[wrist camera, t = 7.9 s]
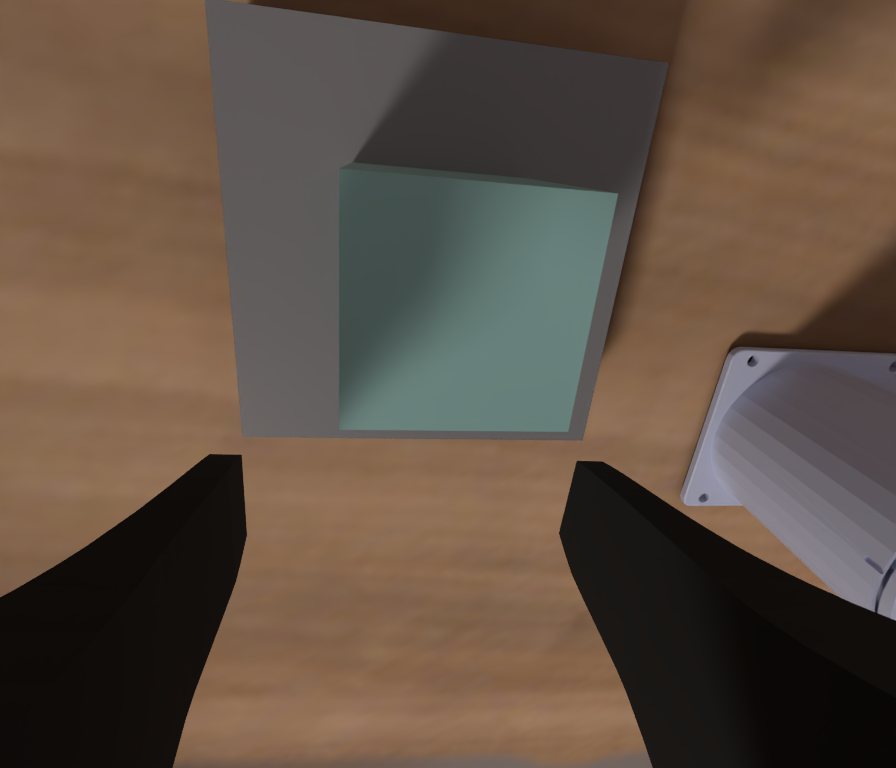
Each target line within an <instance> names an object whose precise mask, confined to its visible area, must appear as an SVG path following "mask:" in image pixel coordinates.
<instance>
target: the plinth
mask: <svg viewBox="0 0 896 768" xmlns="http://www.w3.org/2000/svg"><path fill="white" fill-rule="evenodd" d="M205 6H206V17H207V29H208V41H209V52H210V64H211V76H212V87H213V99H214V111H215V122H216V134H217V146H218V157H219V169H220V181H221V192H222V204H223V216H224V228H225V239H226V251H227V263H228V274H229V286H230V298H231V309H232V321H233V333H234V344H235V356H236V368H237V379H238V391H239V403H240V414H241V426H242V437H300V438H396V439H492V440H583V436H584V432H585V427H586V423H587V419H588V414H589V410H590V406H591V401H592V397H593V392H594V388H595V384H596V379H597V375H598V371H599V366H600V362H601V357H602V353H603V349H604V344H605V340H606V336H607V331H608V327H609V323H610V318H611V314H612V309H613V305H614V301H615V296H616V292H617V288H618V283H619V279H620V275H621V270H622V266H623V261H624V257H625V253H626V248H627V244H628V240H629V235H630V231H631V227H632V222H633V218H634V213H635V209H636V205H637V200H638V196H639V192H640V187H641V183H642V179H643V174H644V170H645V165H646V161H647V157H648V152H649V148H650V144H651V139H652V135H653V131H654V126H655V122H656V117H657V113H658V109H659V104H660V100H661V96H662V91H663V87H664V83H665V78H666V74H667V69H668V65H669V63H666V62H659V61H652V60H645V59H638V58H630V57H623V56H616V55H609V54H602V53H595V52H588V51H580V50H573V49H566V48H559V47H552V46H545V45H538V44H531V43H523V42H516V41H509V40H502V39H495V38H488V37H481V36H473V35H466V34H459V33H452V32H445V31H438V30H431V29H423V28H416V27H409V26H402V25H395V24H388V23H381V22H373V21H366V20H359V19H352V18H345V17H338V16H331V15H324V14H316V13H309V12H302V11H295V10H288V9H281V8H274V7H266V6H259V5H252V4H245V3H238V2H231V1H224V0H205ZM352 162H355V163H366V164H377V165H388V166H399V167H410V168H420V169H431V170H442V171H453V172H464V173H475V174H486V175H497V176H508V177H519V178H529V179H535V180H541V181H547V182H553V183H559V184H565V185H571V186H577V187H583V188H589V189H595V190H601V191H606V192H612V193H618V197H617V202H616V206H615V211H614V216H613V221H612V226H611V230H610V235H609V240H608V245H607V249H606V254H605V259H604V264H603V268H602V273H601V278H600V283H599V287H598V292H597V297H596V302H595V306H594V311H593V316H592V321H591V326H590V330H589V335H588V340H587V345H586V349H585V354H584V359H583V364H582V368H581V373H580V378H579V383H578V387H577V392H576V397H575V402H574V406H573V411H572V416H571V421H570V426H569V430H568V432H526V431H423V430H339V168H341V167H343V166H345V165H348V164H350V163H352Z"/></svg>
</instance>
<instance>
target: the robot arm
mask: <svg viewBox="0 0 896 768" xmlns="http://www.w3.org/2000/svg"><path fill="white" fill-rule="evenodd" d="M752 356H753V358H752V360H751V361H750V362H749V363H747V361H748V359H749V358H750V357H752ZM702 494H703V495H702ZM701 495H702V496H701ZM700 496H701V497H700ZM680 498H681V500H682V501H683V502H684V503H685V504H686V505H688V506H737V505H743V506H744V507H745V508H746V509H747V510H748V511H750V512H751V513H752V514H753V515H754V516H755V517H756V518H757V519H758V520H759V521H760V522H761V523H762V524H763V525H764V526H765V527H766V528H767V529H768V530H769V531H770V532H772V533H773V534H774V535H775V536H776V537H777V538H778V539H779V540H780V541H781V542H782V543H783V544H784V545H785V546H786V547H787V548H788V549H789V550H790V551H791V552H792V553H794V554H795V555H796V556H797V557H798V558H799V559H800V560H801V561H802V562H803V563H804V564H805V565H806V566H807V567H808V568H809V569H810V570H811V571H812V572H813V573H815V574H816V575H817V576H818V577H819V578H820V579H821V580H822V581H823V582H824V583H825V584H826V585H827V586H828V587H829V588H830V589H831V590H832V591H833V592H834V593H835V594H837V595H838V596H839V597H838V596H836V595H833V594H831V593H829V592H827V591H824V590H822V589H820V588H818V587H815V586H813V585H811V584H809V583H807V582H805V581H803V580H801V579H798V578H796V577H794V576H792V575H790V574H788V573H786V572H784V571H782V570H780V569H778V568H776V567H775V566H773V565H771V564H769V563H767V562H765V561H763V560H761V559H759V558H757V557H755V556H753V555H752V554H750V553H748V552H746V551H744V550H743V549H741V548H739V547H737V546H735V545H734V544H732V543H730V542H729V541H727V540H725V539H724V538H722V537H720V536H719V535H717V534H715V533H714V532H712V531H710V530H709V529H707V528H705V527H704V526H702V525H700V524H699V523H697V522H696V521H694V520H692V519H691V518H689V517H688V516H686V515H685V514H683V513H682V512H680V511H678V510H677V509H675V508H674V507H672V506H671V505H669V504H668V503H666V502H665V501H663V500H662V499H660V498H659V497H657V496H656V495H654V494H653V493H651V492H650V491H648V490H647V489H645V488H644V487H642V486H641V485H639V484H638V483H636V482H635V481H633V480H632V479H630V478H629V477H627V476H626V475H624V474H623V473H621V472H619V471H618V470H616V469H615V468H613V467H611V466H609V465H608V464H606V463H604V462H599V461H577V463H576V467H575V471H574V475H573V479H572V483H571V487H570V491H569V495H568V499H567V503H566V507H565V511H564V515H563V519H562V523H561V527H560V531H559V534H560V538H561V541H562V545H563V548H564V551H565V555H566V558H567V561H568V564H569V567H570V570H571V573H572V575H573V578H574V580H575V582H576V584H577V586H578V589H579V591H580V593H581V595H582V597H583V599H584V602H585V604H586V606H587V608H588V610H589V612H590V614H591V616H592V618H593V621H594V623H595V625H596V627H597V629H598V631H599V633H600V635H601V637H602V640H603V642H604V644H605V646H606V648H607V650H608V652H609V654H610V656H611V658H612V661H613V663H614V665H615V667H616V669H617V671H618V674H619V676H620V678H621V681H622V683H623V685H624V688H625V690H626V693H627V696H628V698H629V701H630V704H631V707H632V709H633V712H634V715H635V718H636V720H637V723H638V726H639V729H640V732H641V734H642V737H643V740H644V743H645V746H646V749H647V752H648V755H649V758H650V761H651V764H652V767H653V768H896V353H873V352H850V351H828V350H805V349H782V348H759V347H736V348H734V349H733V350H731V351H730V352H729V354H728V356H727V358H726V360H725V363H724V366H723V369H722V372H721V375H720V378H719V381H718V384H717V387H716V390H715V393H714V396H713V399H712V402H711V405H710V408H709V411H708V414H707V417H706V420H705V423H704V426H703V429H702V432H701V435H700V438H699V441H698V444H697V447H696V450H695V453H694V456H693V458H692V461H691V464H690V467H689V470H688V473H687V476H686V479H685V482H684V485H683V488H682V491H681V495H680ZM246 537H247V530H246V515H245V500H244V485H243V470H242V455H221V454H209V455H208V456H207V457H205V458H204V459H203V460H201V461H200V462H199V463H197V464H196V465H195V466H194V467H192V468H191V469H190V470H189V471H187V472H186V473H185V474H184V475H182V476H181V477H180V478H179V479H177V480H176V481H175V482H174V483H172V484H171V485H170V486H169V487H167V488H166V489H165V490H163V491H162V492H161V493H160V494H158V495H157V496H156V497H154V498H153V499H152V500H150V501H149V502H148V503H147V504H145V505H144V506H143V507H141V508H140V509H139V510H137V511H136V512H135V513H133V514H132V515H130V516H129V517H128V518H126V519H125V520H123V521H122V522H120V523H119V524H118V525H116V526H115V527H113V528H112V529H110V530H109V531H108V532H106V533H105V534H103V535H102V536H100V537H99V538H98V539H96V540H95V541H93V542H92V543H90V544H89V545H88V546H86V547H84V548H83V549H81V550H80V551H78V552H77V553H75V554H74V555H72V556H70V557H69V558H67V559H66V560H64V561H62V562H61V563H59V564H58V565H56V566H54V567H53V568H51V569H49V570H48V571H46V572H44V573H42V574H41V575H39V576H37V577H36V578H34V579H32V580H31V581H29V582H27V583H26V584H24V585H22V586H20V587H19V588H17V589H15V590H13V591H11V592H10V593H8V594H6V595H4V596H2V597H0V768H172V767H173V764H174V760H175V756H176V753H177V749H178V745H179V742H180V738H181V734H182V731H183V727H184V724H185V720H186V717H187V714H188V711H189V707H190V704H191V701H192V698H193V695H194V692H195V690H196V687H197V684H198V682H199V679H200V676H201V674H202V671H203V668H204V666H205V663H206V660H207V658H208V655H209V652H210V650H211V647H212V644H213V642H214V639H215V636H216V634H217V631H218V629H219V626H220V623H221V621H222V618H223V615H224V612H225V610H226V607H227V604H228V602H229V599H230V596H231V594H232V591H233V588H234V585H235V582H236V579H237V575H238V571H239V567H240V563H241V559H242V554H243V550H244V546H245V541H246Z"/></svg>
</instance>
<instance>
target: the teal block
mask: <svg viewBox="0 0 896 768" xmlns="http://www.w3.org/2000/svg"><path fill="white" fill-rule="evenodd" d="M617 197H618V193H612V192H606V191H601V190H595V189H589V188H583V187H577V186H571V185H565V184H559V183H553V182H547V181H541V180H535V179H529V178H519V177H508V176H497V175H486V174H475V173H464V172H453V171H442V170H431V169H420V168H410V167H399V166H388V165H377V164H366V163H355V162H352V163H350V164H348V165H345V166H343V167H341V168H339V430H423V431H526V432H568V430H569V426H570V421H571V416H572V411H573V406H574V402H575V397H576V392H577V387H578V383H579V378H580V373H581V368H582V364H583V359H584V354H585V349H586V345H587V340H588V335H589V330H590V326H591V321H592V316H593V311H594V306H595V302H596V297H597V292H598V287H599V283H600V278H601V273H602V268H603V264H604V259H605V254H606V249H607V245H608V240H609V235H610V230H611V226H612V221H613V216H614V211H615V206H616V202H617Z"/></svg>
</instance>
